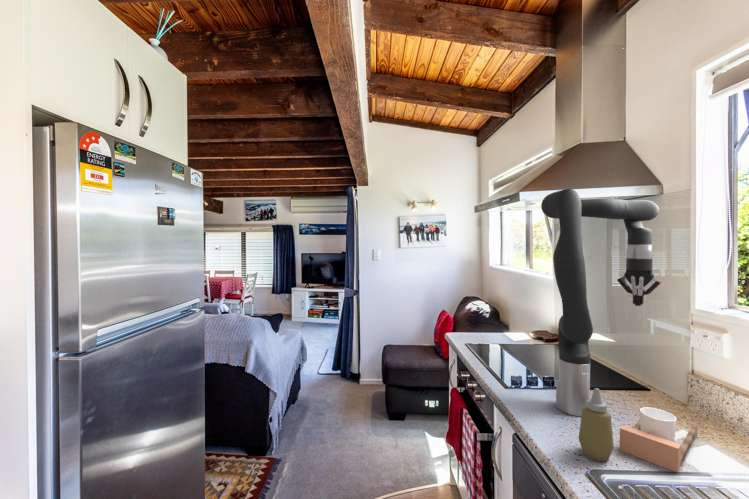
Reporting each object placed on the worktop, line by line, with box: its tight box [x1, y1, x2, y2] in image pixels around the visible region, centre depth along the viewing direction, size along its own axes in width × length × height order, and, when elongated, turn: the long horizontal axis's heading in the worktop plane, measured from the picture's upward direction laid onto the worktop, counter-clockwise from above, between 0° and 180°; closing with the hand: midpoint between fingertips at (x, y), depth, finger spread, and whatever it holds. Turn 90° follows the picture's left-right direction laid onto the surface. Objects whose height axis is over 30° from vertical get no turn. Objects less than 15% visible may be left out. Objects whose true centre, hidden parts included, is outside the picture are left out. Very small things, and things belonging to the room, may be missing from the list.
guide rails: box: [632, 419, 698, 469], centre depth 101 cm, size 24×12×2 cm, turn 130°
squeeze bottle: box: [578, 387, 615, 462], centre depth 94 cm, size 8×8×18 cm
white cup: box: [639, 406, 677, 442], centre depth 97 cm, size 8×8×10 cm
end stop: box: [618, 424, 682, 473], centre depth 93 cm, size 3×12×6 cm, turn 40°
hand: (638, 305), depth 125 cm, fingers closed
